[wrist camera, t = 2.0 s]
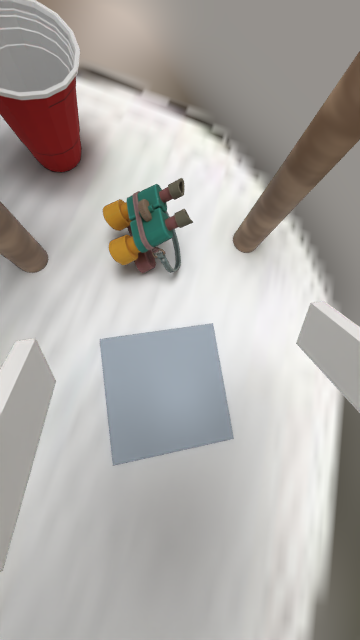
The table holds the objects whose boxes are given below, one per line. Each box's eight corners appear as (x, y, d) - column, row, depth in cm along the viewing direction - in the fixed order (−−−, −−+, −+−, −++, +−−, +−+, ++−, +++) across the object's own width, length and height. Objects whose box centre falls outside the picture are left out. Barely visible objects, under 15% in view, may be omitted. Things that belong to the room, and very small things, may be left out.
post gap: (15, 246, 29) (-848, -512, 4) (254, 228, 34) (561, -154, 9) (17, 274, 29) (-972, -394, 3) (259, 251, 34) (602, -84, 8)
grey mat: (100, 339, 29) (99, 339, 28) (211, 324, 31) (212, 323, 30) (113, 463, 27) (113, 465, 26) (231, 437, 29) (233, 438, 28)
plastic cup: (89, 200, 32) (55, 105, 20) (5, 176, 31) (-83, 61, 19) (111, 134, 34) (92, 14, 22) (33, 110, 33) (-30, -30, 21)
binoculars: (144, 225, 34) (92, 187, 25) (203, 197, 31) (167, 141, 22) (156, 287, 33) (106, 269, 24) (219, 265, 29) (188, 235, 20)
